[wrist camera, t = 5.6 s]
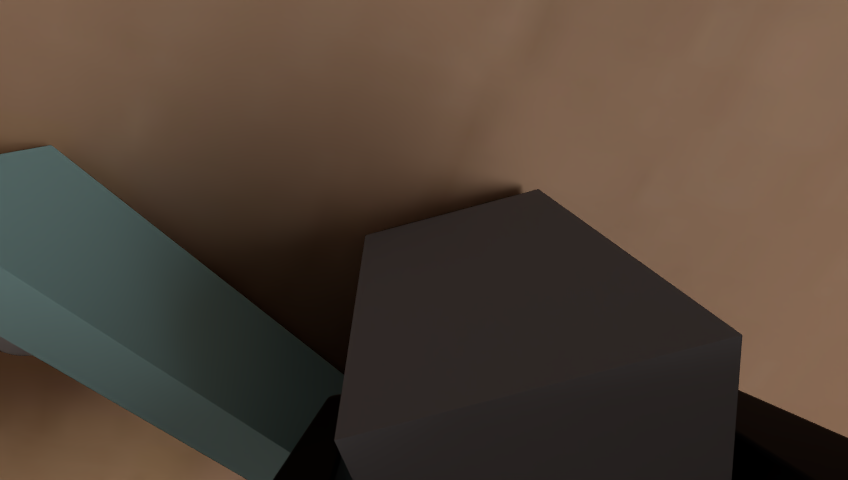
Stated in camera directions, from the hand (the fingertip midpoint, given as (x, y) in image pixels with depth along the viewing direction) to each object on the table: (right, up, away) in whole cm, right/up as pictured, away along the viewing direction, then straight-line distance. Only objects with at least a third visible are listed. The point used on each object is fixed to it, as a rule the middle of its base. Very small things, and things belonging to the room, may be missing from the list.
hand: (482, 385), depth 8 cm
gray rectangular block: (0, +1, +2) cm, 3 cm away
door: (-4, -1, +2) cm, 5 cm away
